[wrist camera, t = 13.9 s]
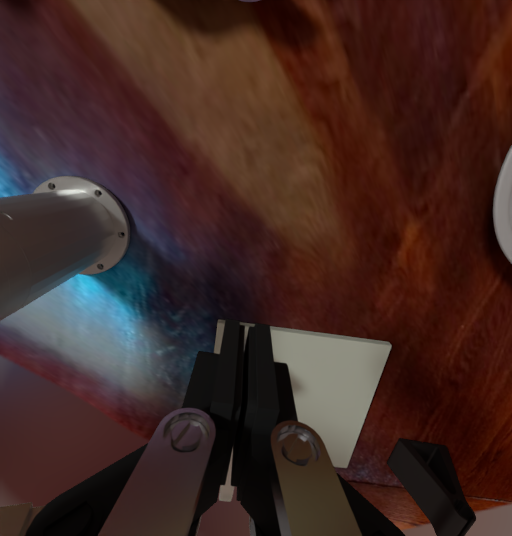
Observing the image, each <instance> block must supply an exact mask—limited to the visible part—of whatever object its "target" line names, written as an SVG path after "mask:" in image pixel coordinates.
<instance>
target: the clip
mask: <svg viewBox="0 0 512 536" xmlns="http://www.w3.org/2000/svg"><path fill="white" fill-rule="evenodd" d="M240 1H243V2H256V1H260V0H240Z"/></svg>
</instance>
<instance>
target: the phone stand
mask: <svg viewBox="0 0 512 536" xmlns="http://www.w3.org/2000/svg"><path fill="white" fill-rule="evenodd" d="M387 464H388V466H389V467H390V468H391V470H392V471H393V472H394V474H395V475H396V476H397V478H398V479H399V480H400V482H401V483H402V484H403V486H404V487H405V488H406V490H407V491H408V492H409V494H410V495H411V496H412V498H413V499H414V500H415V502H416V503H417V504H418V506H419V507H420V508H421V510H422V511H423V512H424V514H425V515H426V516H427V518H428V519H429V520H430V522H431V524H432V526H433V528H434V530H435V533H436V535H437V536H465V534H466V533H467V531H468V530H469V529H470V527H471V526H472V525H473V523H474V522H475V521H476V516H475V513H474V511H473V510H472V509H471V507H470V506H469V504H468V503H467V501H466V499H465V497H464V495H463V492H462V489H461V486H460V483H459V480H458V477H457V474H456V472H455V469H454V466H453V463H452V460H451V457H450V454H449V451H448V449H447V447H446V446H444V445H438V444H432V443H426V442H423V443H422V442H420V441H414V440H408V439H402V438H399V440H398V442H397V444H396V446H395V448H394V450H393V452H392V453H391V455H390V457H389V459H388V461H387Z"/></svg>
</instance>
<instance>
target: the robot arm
mask: <svg viewBox="0 0 512 536" xmlns="http://www.w3.org/2000/svg"><path fill="white" fill-rule="evenodd" d="M100 191H101V193H102V195H101V194H100ZM123 233H124V234H125V235H123ZM129 243H130V225H129V221H128V218H127V215H126V212H125V211H124V209H123V207H122V205H121V204H120V202H119V201H118V200H117V198H116V197H115V196H114V195H113V194H112V193H111V192H110V191H109V190H107V189H106V188H105V187H103V186H102V185H100V184H99V183H96V182H94V181H92V180H90V179H87V178H83V177H79V176H61V177H56V178H52V179H49V180H47V181H45V182H44V183H42V184H41V185H40V186H38V187H37V188H36V189H35V191H34V192H33V193H32V194H27V195H18V196H10V197H2V198H0V321H1V320H2V319H4V318H6V317H7V316H9V315H11V314H12V313H14V312H16V311H18V310H19V309H21V308H23V307H24V306H26V305H27V304H29V303H31V302H32V301H34V300H36V299H37V298H39V297H41V296H42V295H44V294H46V293H47V292H49V291H51V290H52V289H54V288H55V287H57V286H59V285H60V284H62V283H64V282H65V281H67V280H69V279H70V278H72V277H74V276H75V275H77V274H87V275H90V274H98V273H101V272H104V271H106V270H108V269H110V268H112V267H113V266H114V265H116V264H117V263H118V262H119V261H120V260H121V259H122V258H123V257H124V255H125V253H126V251H127V249H128V246H129ZM244 337H245V325H240V321H238V320H231V319H226V320H225V326H224V332H223V337H222V343H221V349H220V354H217V353H210V352H202V351H199V352H198V354H197V358H196V361H195V365H194V368H193V372H192V375H191V378H190V382H189V385H188V389H187V392H186V396H185V399H184V403H183V406H182V408H181V409H177V410H175V411H172V412H171V413H169V414H168V415H167V416H165V417H164V418H163V420H162V421H161V422H160V423H159V425H158V427H157V429H156V431H155V432H154V434H153V436H152V438H151V440H150V442H149V443H147V444H146V445H144V446H142V447H141V448H139V449H137V450H136V451H134V452H132V453H130V454H129V455H127V456H125V457H124V458H122V459H120V460H118V461H117V462H115V463H114V464H112V465H110V466H109V467H107V468H105V469H103V470H102V471H100V472H98V473H96V474H95V475H93V476H91V477H90V478H88V479H86V480H84V481H83V482H81V483H80V484H78V485H76V486H74V487H73V488H71V489H69V490H68V491H66V492H64V493H62V494H61V495H59V496H58V497H56V498H55V499H54V500H52V501H51V502H49V503H48V504H47V505H46V506H40V507H34V508H33V507H32V503H24V504H17V505H10V506H3V507H0V536H196V535H197V532H198V528H199V524H200V520H201V515H202V514H203V513H204V512H205V511H207V510H208V509H209V508H210V507H211V506H212V505H213V504H214V503H216V502H217V498H218V493H219V488H220V485H225V483H226V479H227V474H228V469H229V464H230V459H231V454H232V449H233V455H232V470H231V486H236V487H237V500H238V501H241V505H242V506H243V507H244V509H245V510H246V511H247V513H248V514H249V515H250V520H249V527H250V535H251V536H405V535H404V534H403V532H402V531H401V530H400V529H399V528H398V527H396V526H395V525H394V524H393V523H392V522H391V521H390V520H389V519H388V518H386V517H385V516H384V515H383V514H382V513H381V512H380V511H379V510H378V509H376V508H375V507H374V506H373V505H372V504H371V503H370V502H369V501H368V500H366V499H365V498H364V497H363V496H362V495H361V494H360V493H359V492H358V491H356V490H355V489H354V488H353V487H352V486H351V485H350V484H349V483H348V482H346V481H345V480H344V479H343V478H342V477H341V476H340V475H339V474H338V473H336V471H335V469H334V466H333V464H332V461H331V459H330V457H329V454H328V452H327V449H326V447H325V444H324V442H323V441H322V439H321V437H320V436H319V435H318V434H317V432H316V431H315V430H314V429H312V428H311V427H309V426H308V425H306V424H304V423H301V422H299V421H298V418H297V412H296V407H295V401H294V396H293V390H292V385H291V379H290V374H289V368H288V365H287V363H281V362H274V357H273V348H272V339H271V331H270V325H264V324H258V323H255V326H254V327H252V326H249V329H248V334H247V339H246V344H245V350H244Z"/></svg>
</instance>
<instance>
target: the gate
mask: <svg viewBox="0 0 512 536" xmlns="http://www.w3.org/2000/svg"><path fill="white" fill-rule="evenodd" d="M232 455H233V449H232V454H231V459H230V464H229V469H228V474H227V479H226V483H225V485H221V488H220V494H219V500H220V501H229V502H230V501H231V500H232V496H233V491H234V486H231V470H232Z"/></svg>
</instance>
